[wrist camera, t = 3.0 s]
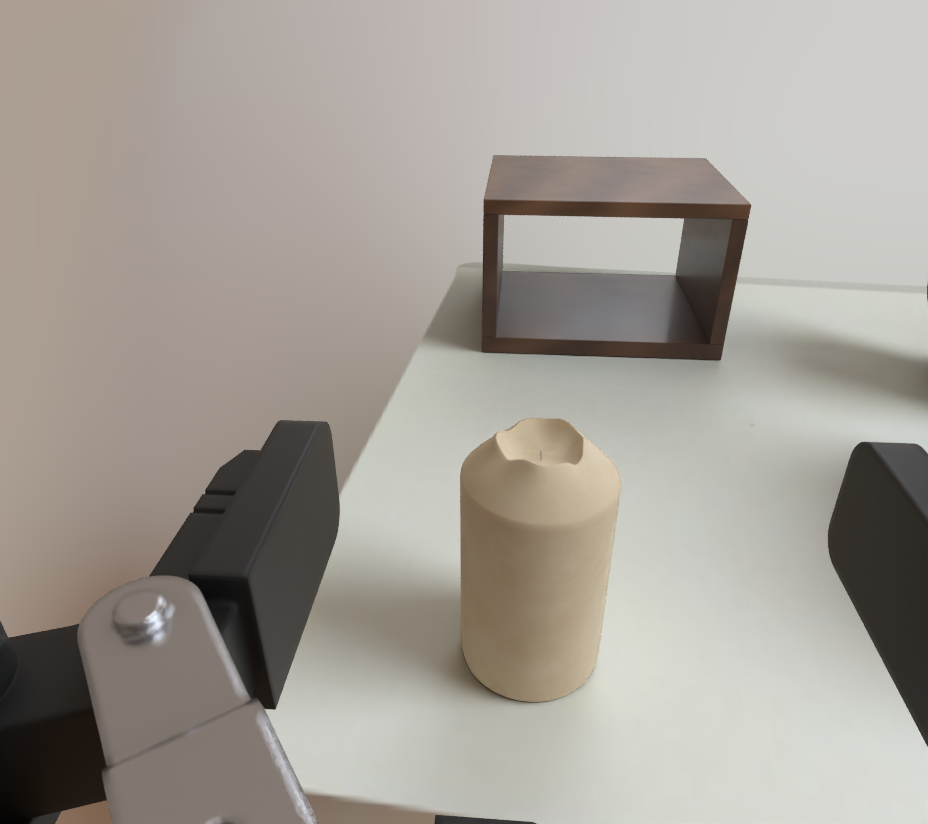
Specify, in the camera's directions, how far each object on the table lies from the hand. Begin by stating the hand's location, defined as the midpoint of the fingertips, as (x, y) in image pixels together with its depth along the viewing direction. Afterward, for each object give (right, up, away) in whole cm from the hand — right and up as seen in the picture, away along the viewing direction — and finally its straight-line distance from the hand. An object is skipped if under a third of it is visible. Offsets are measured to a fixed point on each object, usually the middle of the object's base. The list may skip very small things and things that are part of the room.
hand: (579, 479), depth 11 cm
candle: (+1, -9, +18) cm, 20 cm away
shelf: (+9, +9, +47) cm, 48 cm away
